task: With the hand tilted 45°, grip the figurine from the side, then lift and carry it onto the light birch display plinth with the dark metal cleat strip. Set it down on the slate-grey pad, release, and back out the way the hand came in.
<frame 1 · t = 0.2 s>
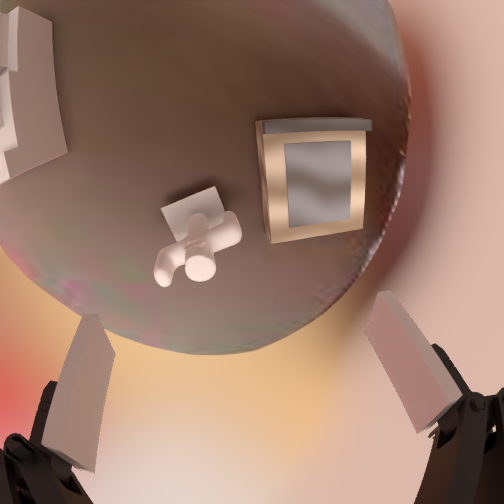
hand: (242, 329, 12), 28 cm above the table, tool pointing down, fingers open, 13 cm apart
figurine: (198, 212, 38), on the table
building blocks: (25, 99, 25), on the table
display plinth: (308, 173, 38), on the table
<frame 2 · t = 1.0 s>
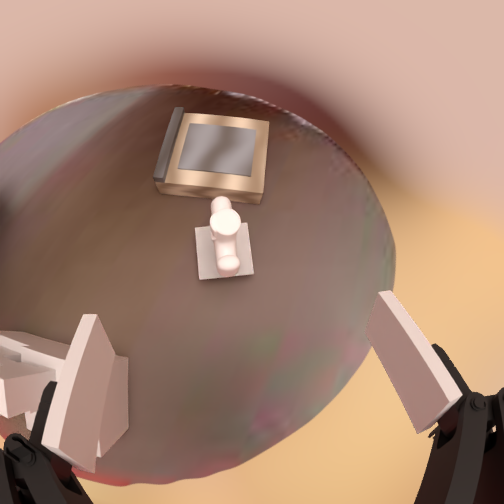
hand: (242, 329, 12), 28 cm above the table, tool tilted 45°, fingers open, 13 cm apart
figurine: (223, 257, 42), on the table
building blocks: (69, 379, 34), on the table
display plinth: (215, 161, 45), on the table
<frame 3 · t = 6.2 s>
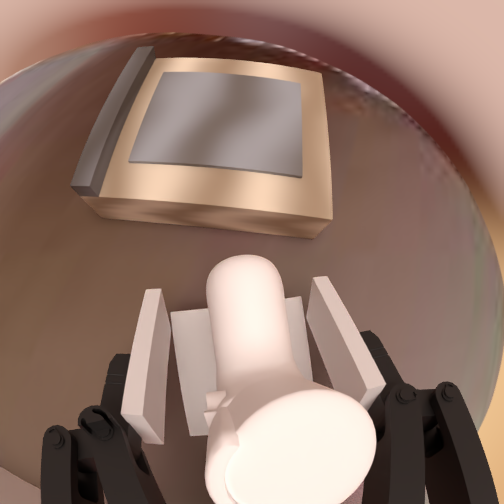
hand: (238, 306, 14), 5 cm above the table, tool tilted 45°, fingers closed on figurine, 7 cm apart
figurine: (241, 361, 18), on the table, touching gripper
display plinth: (215, 146, 22), on the table
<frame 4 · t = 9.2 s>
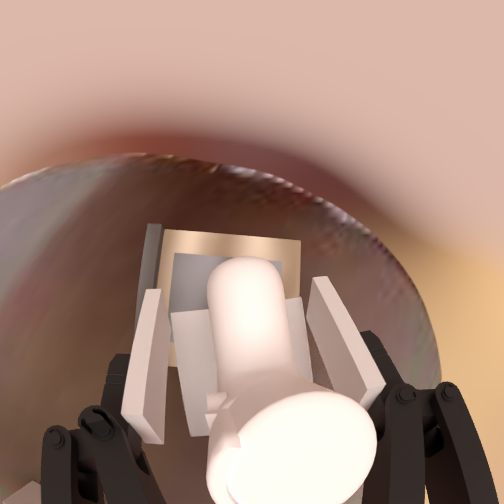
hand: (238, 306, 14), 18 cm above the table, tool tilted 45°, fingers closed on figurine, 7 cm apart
figurine: (241, 362, 18), point 13 cm above the table, touching gripper
display plinth: (220, 304, 31), on the table
when the fingers open (10 cm above the table, at t = 12.1 s): figurine moves 1 cm, resting on display plinth.
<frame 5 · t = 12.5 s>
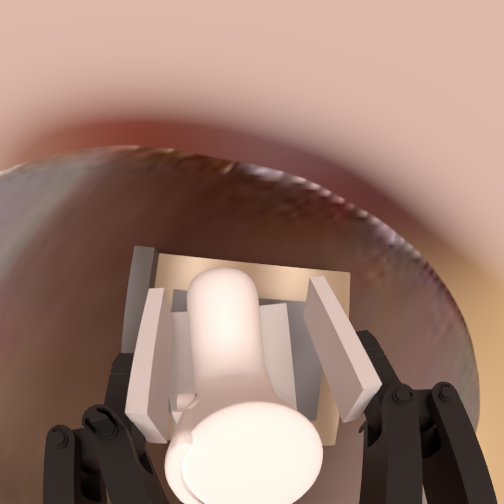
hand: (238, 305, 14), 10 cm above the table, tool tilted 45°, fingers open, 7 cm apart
figurine: (228, 362, 18), point 4 cm above the table, touching display plinth
display plinth: (236, 354, 22), on the table
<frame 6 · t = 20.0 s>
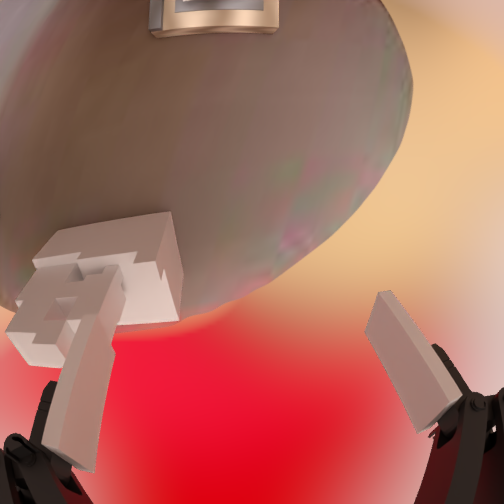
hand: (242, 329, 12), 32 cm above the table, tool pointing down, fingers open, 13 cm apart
building blocks: (118, 251, 44), on the table
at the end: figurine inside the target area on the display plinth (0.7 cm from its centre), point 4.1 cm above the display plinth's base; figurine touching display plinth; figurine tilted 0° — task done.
